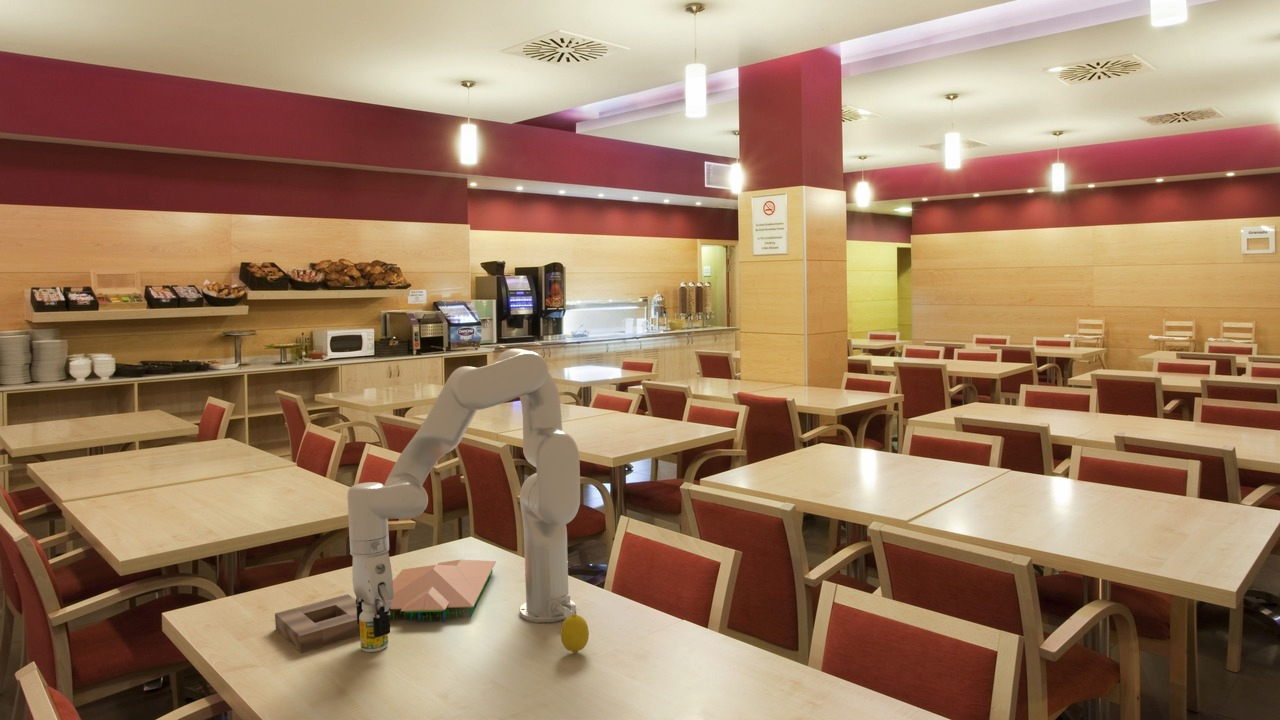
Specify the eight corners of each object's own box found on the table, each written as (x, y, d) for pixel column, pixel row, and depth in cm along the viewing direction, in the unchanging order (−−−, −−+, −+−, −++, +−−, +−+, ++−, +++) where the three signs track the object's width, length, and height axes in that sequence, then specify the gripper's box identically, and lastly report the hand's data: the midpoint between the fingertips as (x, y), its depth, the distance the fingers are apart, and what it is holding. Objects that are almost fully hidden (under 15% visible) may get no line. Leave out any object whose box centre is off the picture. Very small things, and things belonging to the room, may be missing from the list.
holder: (377, 629, 171) (376, 613, 171) (300, 652, 161) (299, 635, 161) (348, 609, 183) (347, 594, 183) (275, 629, 173) (274, 613, 173)
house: (365, 628, 173) (364, 592, 172) (407, 576, 206) (406, 545, 205) (471, 626, 173) (469, 589, 173) (496, 573, 206) (495, 542, 206)
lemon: (593, 649, 160) (592, 610, 159) (582, 661, 154) (581, 621, 154) (568, 645, 161) (567, 607, 161) (556, 657, 156) (555, 617, 156)
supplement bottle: (384, 639, 166) (382, 594, 166) (391, 648, 162) (389, 602, 161) (357, 645, 164) (355, 600, 163) (364, 655, 159) (362, 608, 158)
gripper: (405, 549, 157) (409, 636, 158) (370, 531, 170) (373, 611, 171) (368, 558, 152) (373, 647, 153) (335, 539, 165) (339, 621, 167)
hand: (373, 628), depth 162 cm, fingers open, 7 cm apart
